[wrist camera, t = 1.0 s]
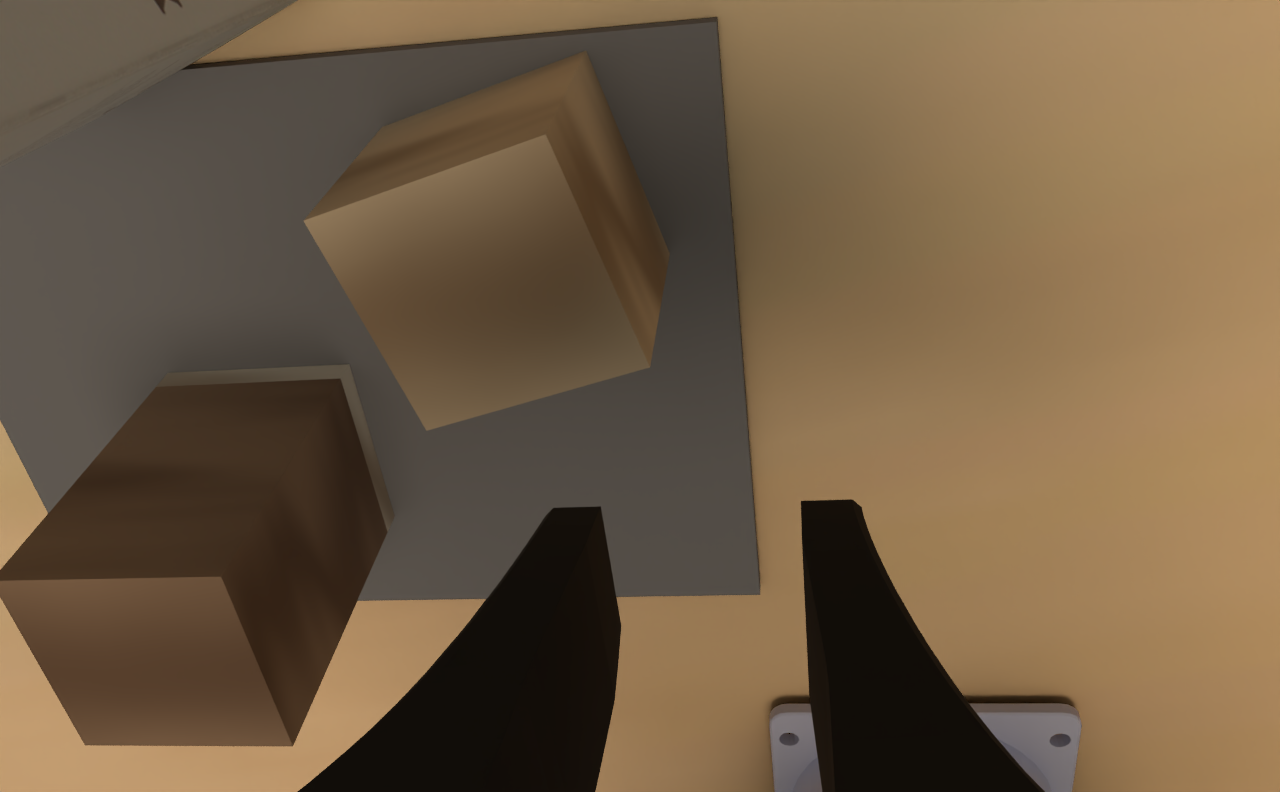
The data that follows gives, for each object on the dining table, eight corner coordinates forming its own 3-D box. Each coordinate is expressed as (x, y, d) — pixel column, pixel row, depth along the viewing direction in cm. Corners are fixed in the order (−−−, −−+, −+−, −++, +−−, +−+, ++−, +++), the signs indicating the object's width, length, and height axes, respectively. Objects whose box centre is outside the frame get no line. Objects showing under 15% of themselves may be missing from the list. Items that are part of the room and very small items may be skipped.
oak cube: (669, 253, 23) (649, 367, 19) (479, 313, 24) (426, 430, 20) (586, 50, 21) (545, 134, 17) (381, 127, 22) (303, 220, 18)
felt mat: (760, 586, 28) (760, 594, 28) (100, 597, 31) (94, 604, 30) (717, 17, 20) (716, 21, 20) (-154, 96, 23) (-164, 101, 23)
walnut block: (395, 515, 27) (292, 746, 22) (227, 520, 28) (85, 745, 22) (349, 364, 25) (221, 577, 19) (168, 372, 26) (-10, 580, 20)
